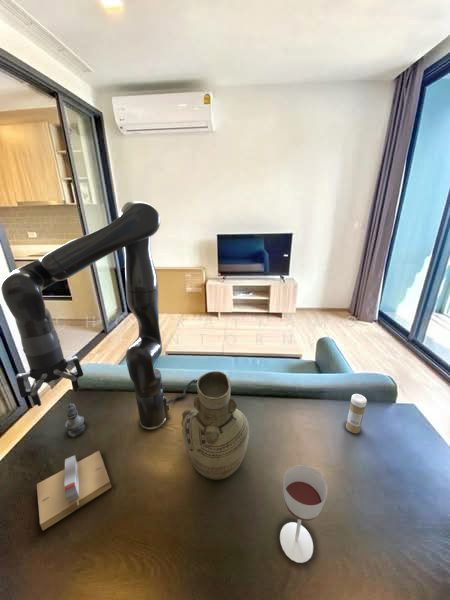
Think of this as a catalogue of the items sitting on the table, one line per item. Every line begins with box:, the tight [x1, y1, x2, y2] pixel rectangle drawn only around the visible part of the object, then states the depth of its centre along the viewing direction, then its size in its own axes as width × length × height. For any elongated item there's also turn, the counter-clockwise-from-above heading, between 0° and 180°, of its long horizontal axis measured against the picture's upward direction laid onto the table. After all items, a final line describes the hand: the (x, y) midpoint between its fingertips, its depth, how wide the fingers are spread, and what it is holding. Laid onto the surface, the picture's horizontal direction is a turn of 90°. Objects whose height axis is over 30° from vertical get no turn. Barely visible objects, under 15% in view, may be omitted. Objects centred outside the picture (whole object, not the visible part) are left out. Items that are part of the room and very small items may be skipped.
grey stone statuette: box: [64, 402, 86, 437], centre depth 86 cm, size 6×6×12 cm
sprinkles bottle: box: [345, 393, 368, 434], centre depth 85 cm, size 5×5×13 cm
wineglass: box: [279, 464, 328, 564], centre depth 55 cm, size 8×9×20 cm
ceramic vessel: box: [181, 370, 250, 481], centre depth 73 cm, size 19×21×30 cm
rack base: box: [36, 450, 112, 531], centre depth 69 cm, size 16×14×3 cm
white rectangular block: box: [64, 455, 79, 502], centre depth 68 cm, size 10×2×4 cm, turn 30°
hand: (58, 397), depth 70 cm, fingers open, 8 cm apart
